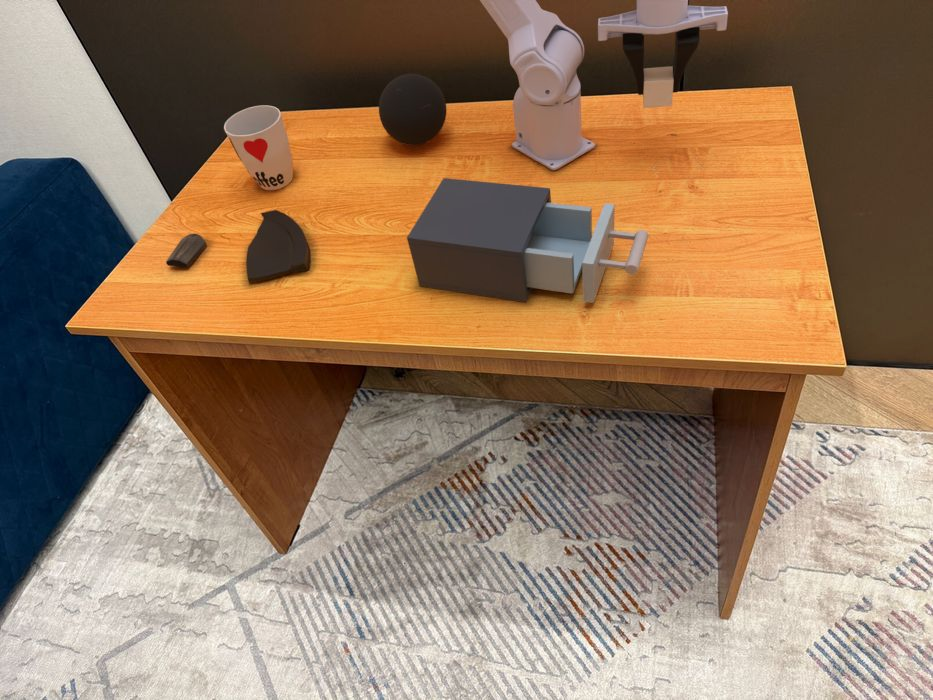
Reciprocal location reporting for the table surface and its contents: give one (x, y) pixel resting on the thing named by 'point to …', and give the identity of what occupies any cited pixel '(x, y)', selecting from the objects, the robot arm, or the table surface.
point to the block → (187, 251)
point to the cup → (262, 145)
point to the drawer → (576, 249)
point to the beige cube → (658, 87)
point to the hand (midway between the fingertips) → (657, 89)
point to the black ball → (412, 109)
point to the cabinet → (477, 237)
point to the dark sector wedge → (277, 248)
